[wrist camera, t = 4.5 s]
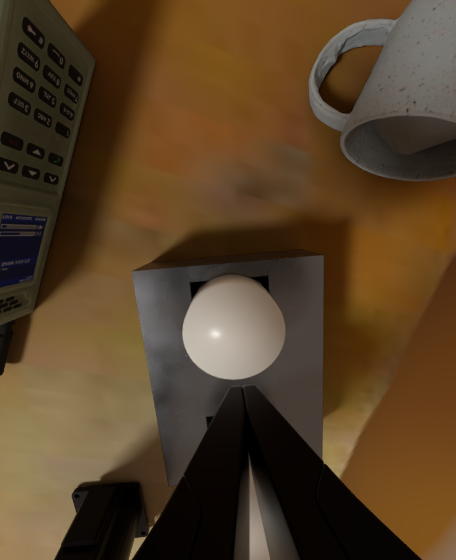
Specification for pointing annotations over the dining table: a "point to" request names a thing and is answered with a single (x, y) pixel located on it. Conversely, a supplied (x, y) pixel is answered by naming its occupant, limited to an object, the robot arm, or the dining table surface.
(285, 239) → the dining table surface
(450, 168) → the block
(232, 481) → the robot arm
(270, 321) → the knob
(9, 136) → the handheld radio
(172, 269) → the mount
